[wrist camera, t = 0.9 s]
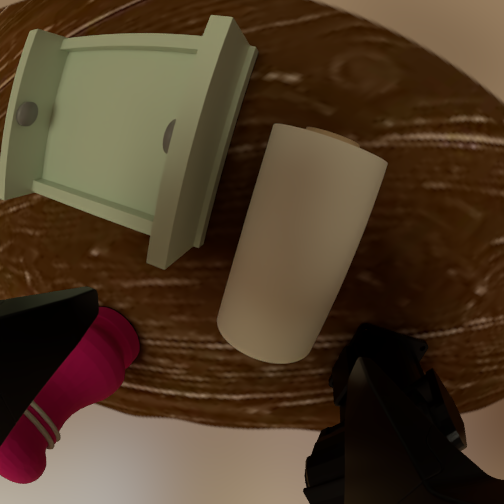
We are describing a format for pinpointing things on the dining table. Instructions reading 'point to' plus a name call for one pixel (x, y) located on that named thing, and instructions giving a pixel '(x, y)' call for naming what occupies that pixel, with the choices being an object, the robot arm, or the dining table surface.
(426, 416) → the robot arm
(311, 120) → the dining table surface
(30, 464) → the pepper mill
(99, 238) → the dining table surface
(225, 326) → the kitchen roll
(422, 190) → the dining table surface
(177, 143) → the roll cradle
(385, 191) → the dining table surface
